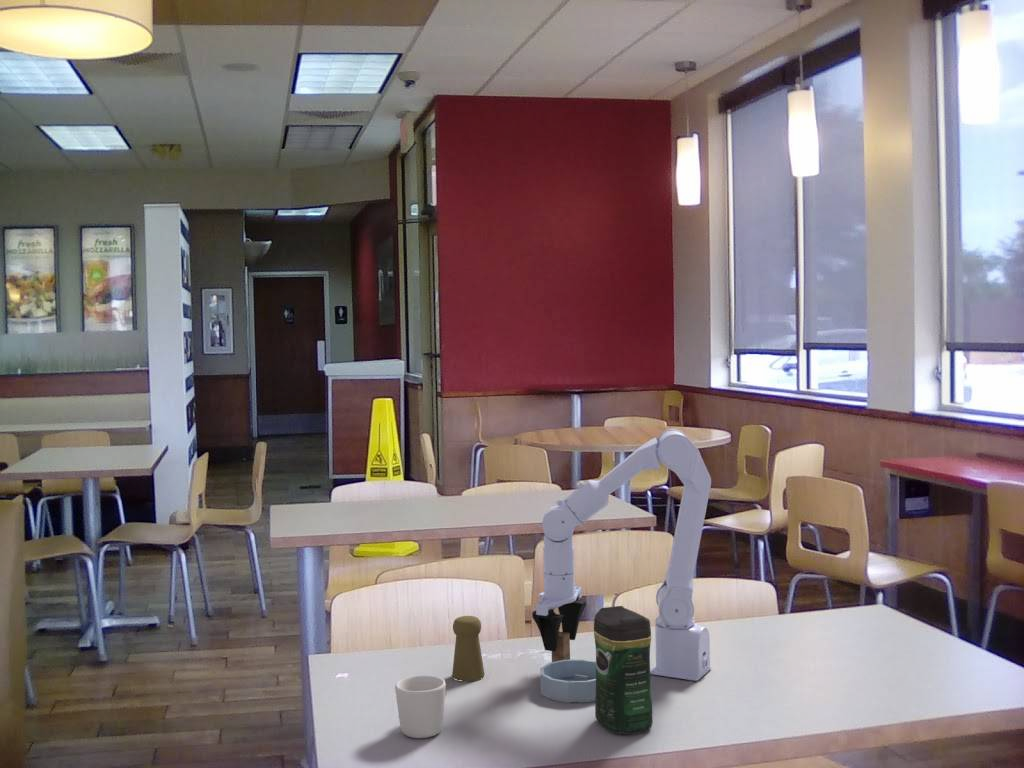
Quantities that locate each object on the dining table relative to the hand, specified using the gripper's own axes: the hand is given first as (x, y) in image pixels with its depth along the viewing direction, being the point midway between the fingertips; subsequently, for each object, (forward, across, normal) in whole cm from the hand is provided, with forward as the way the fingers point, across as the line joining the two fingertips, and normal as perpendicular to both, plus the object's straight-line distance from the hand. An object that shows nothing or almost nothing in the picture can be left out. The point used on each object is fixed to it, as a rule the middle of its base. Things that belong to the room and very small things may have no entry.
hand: (560, 644), depth 194 cm
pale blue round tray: (+5, +8, +7) cm, 12 cm away
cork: (+5, +10, -14) cm, 18 cm away
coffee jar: (+5, +19, +21) cm, 29 cm away
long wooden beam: (+5, 0, 0) cm, 5 cm away
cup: (+5, +35, -7) cm, 36 cm away
